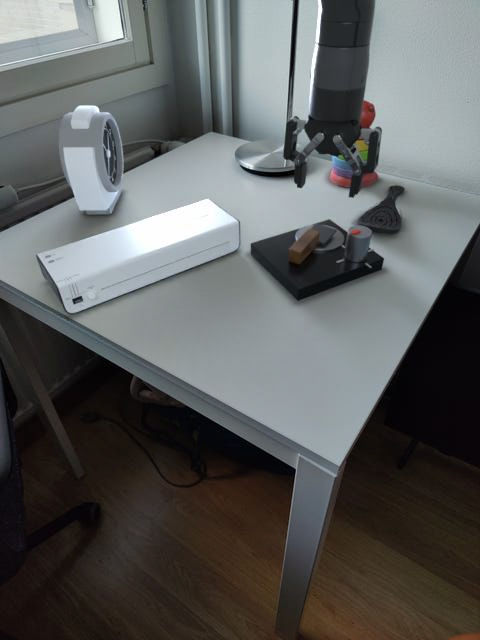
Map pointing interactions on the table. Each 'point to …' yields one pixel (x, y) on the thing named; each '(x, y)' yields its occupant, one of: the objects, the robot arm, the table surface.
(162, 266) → the laminator
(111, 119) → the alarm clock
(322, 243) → the spatula
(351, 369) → the table surface
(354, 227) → the hob knob
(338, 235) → the burner
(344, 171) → the stacking bear
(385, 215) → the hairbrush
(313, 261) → the hob
